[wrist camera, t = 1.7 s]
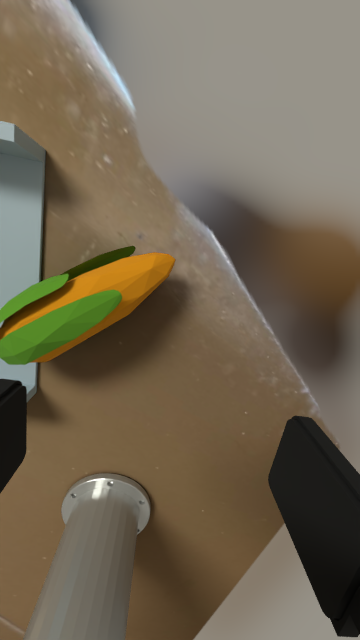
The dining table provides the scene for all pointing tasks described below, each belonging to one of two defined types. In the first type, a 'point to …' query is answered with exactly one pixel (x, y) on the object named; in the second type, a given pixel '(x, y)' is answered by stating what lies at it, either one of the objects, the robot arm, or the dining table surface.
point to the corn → (77, 304)
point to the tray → (20, 228)
